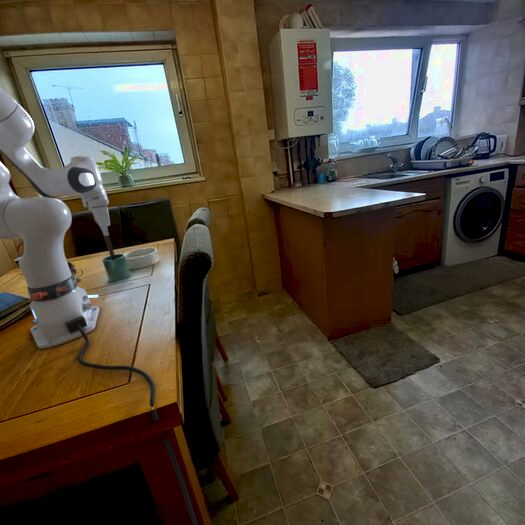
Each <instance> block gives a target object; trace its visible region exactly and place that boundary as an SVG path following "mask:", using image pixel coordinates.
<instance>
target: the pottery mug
mask: <svg viewBox="0 0 525 525" xmlns="http://www.w3.org/2000/svg"><path fill="white" fill-rule="evenodd" d="M67 263H68V266H69V269H70V272H71V274H73V273H75V274H76V273H77V269H76V268H75V267H76V265H75V264H73V263H72V262H70V261H67Z"/></svg>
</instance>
